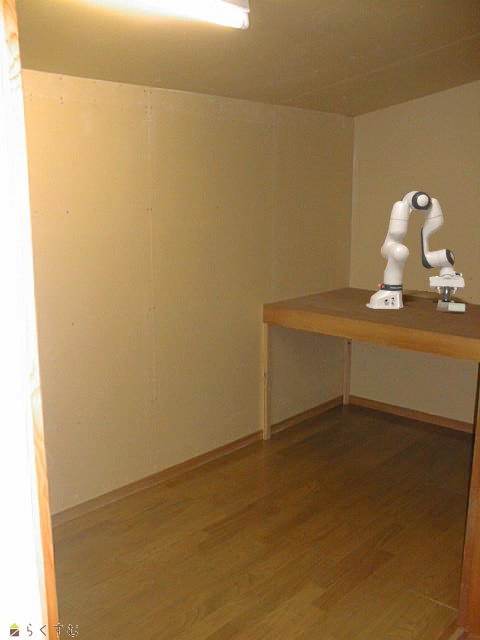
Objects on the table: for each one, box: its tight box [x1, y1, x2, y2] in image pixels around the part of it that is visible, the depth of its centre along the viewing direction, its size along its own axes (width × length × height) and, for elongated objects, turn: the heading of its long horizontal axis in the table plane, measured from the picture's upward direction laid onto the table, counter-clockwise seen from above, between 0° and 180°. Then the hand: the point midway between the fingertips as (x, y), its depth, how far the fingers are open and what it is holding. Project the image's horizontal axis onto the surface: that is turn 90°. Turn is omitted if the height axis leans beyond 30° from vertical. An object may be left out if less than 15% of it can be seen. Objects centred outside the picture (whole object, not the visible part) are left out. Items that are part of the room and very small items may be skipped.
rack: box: [448, 302, 466, 312], centre depth 347 cm, size 9×9×3 cm
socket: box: [437, 299, 455, 307], centre depth 358 cm, size 9×9×3 cm
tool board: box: [436, 303, 467, 315], centre depth 353 cm, size 22×16×2 cm
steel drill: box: [442, 286, 452, 302], centre depth 357 cm, size 4×4×12 cm
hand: (446, 294), depth 356 cm, fingers open, 6 cm apart
